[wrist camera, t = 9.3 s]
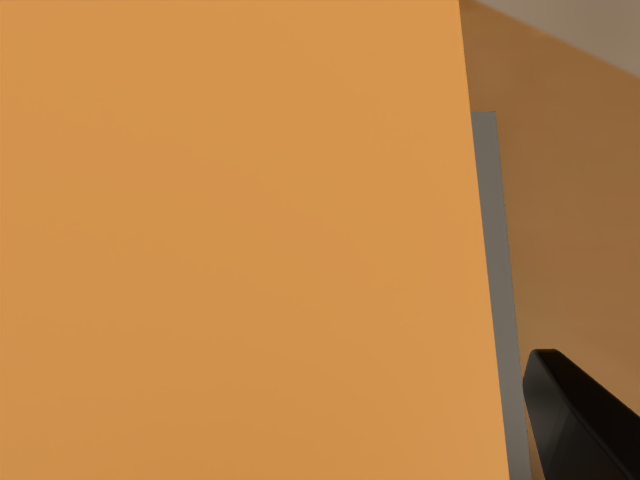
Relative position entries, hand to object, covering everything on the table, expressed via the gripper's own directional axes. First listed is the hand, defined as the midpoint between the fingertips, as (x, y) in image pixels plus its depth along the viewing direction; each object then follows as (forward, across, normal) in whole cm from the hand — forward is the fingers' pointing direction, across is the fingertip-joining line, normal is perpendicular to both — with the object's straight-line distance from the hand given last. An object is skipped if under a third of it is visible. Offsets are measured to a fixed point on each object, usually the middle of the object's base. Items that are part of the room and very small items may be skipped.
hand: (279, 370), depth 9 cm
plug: (+7, 0, +4) cm, 8 cm away
